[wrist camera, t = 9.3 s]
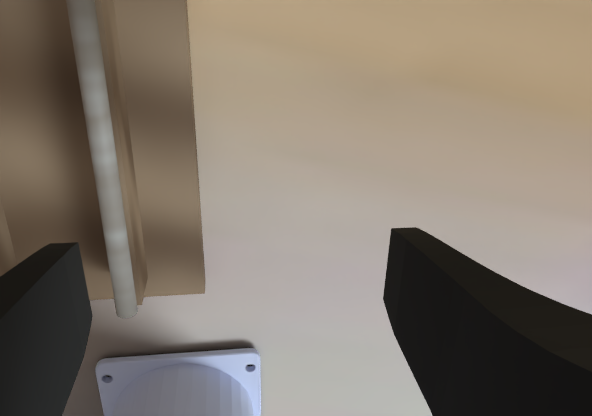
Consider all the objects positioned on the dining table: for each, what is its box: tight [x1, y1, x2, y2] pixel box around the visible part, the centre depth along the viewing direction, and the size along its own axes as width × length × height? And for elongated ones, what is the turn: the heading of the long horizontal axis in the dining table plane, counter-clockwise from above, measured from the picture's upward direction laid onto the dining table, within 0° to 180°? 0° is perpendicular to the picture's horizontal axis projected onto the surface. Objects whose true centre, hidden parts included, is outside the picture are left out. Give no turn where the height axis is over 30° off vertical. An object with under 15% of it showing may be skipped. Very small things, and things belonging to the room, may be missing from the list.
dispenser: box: [0, 0, 205, 318], centre depth 18 cm, size 18×11×4 cm, turn 179°
